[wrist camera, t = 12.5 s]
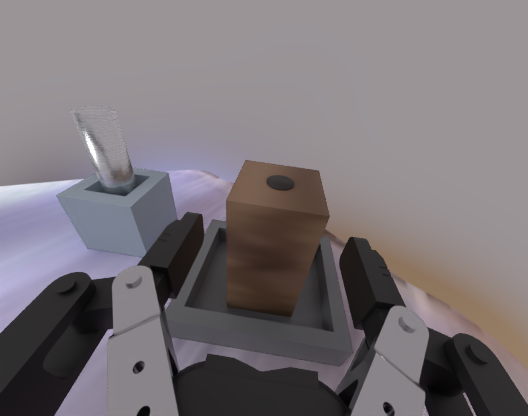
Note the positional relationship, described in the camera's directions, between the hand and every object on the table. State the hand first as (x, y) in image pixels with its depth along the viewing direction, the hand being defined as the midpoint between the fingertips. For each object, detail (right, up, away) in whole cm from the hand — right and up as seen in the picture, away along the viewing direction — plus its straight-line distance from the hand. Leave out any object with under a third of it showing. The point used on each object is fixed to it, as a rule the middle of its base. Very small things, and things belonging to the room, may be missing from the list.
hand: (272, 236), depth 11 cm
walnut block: (-1, -5, +6) cm, 8 cm away
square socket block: (-14, -1, +11) cm, 18 cm away
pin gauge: (-14, -1, +11) cm, 18 cm away
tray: (-1, -5, +7) cm, 9 cm away
